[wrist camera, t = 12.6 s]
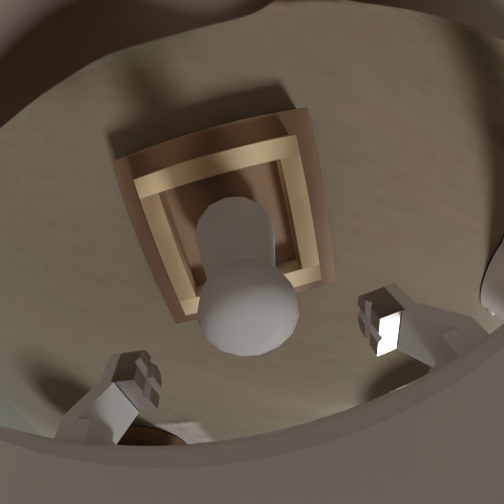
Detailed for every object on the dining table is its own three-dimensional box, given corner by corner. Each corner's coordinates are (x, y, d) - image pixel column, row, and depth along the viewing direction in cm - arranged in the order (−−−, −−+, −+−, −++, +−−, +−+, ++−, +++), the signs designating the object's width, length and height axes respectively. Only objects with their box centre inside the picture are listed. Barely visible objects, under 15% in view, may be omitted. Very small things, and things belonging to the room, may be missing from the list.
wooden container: (98, 426, 37) (78, 523, 17) (161, 420, 37) (153, 540, 17) (142, 459, 43) (136, 542, 23) (201, 454, 43) (206, 549, 23)
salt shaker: (189, 200, 21) (153, 281, 9) (260, 182, 21) (313, 242, 9) (209, 265, 24) (205, 386, 12) (274, 249, 24) (325, 357, 12)
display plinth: (297, 110, 22) (315, 104, 17) (325, 267, 28) (344, 291, 24) (124, 158, 22) (102, 164, 17) (179, 306, 28) (173, 336, 24)
